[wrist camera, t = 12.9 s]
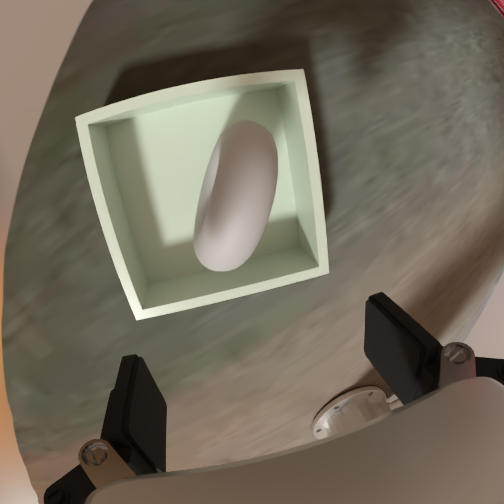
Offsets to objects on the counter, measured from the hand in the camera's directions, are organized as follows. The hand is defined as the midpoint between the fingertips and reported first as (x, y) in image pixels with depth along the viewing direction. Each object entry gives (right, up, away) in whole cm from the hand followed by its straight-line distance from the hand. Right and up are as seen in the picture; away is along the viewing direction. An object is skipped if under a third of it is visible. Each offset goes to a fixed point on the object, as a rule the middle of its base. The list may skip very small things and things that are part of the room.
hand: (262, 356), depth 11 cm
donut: (-3, +10, +13) cm, 16 cm away
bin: (-4, +9, +13) cm, 16 cm away
